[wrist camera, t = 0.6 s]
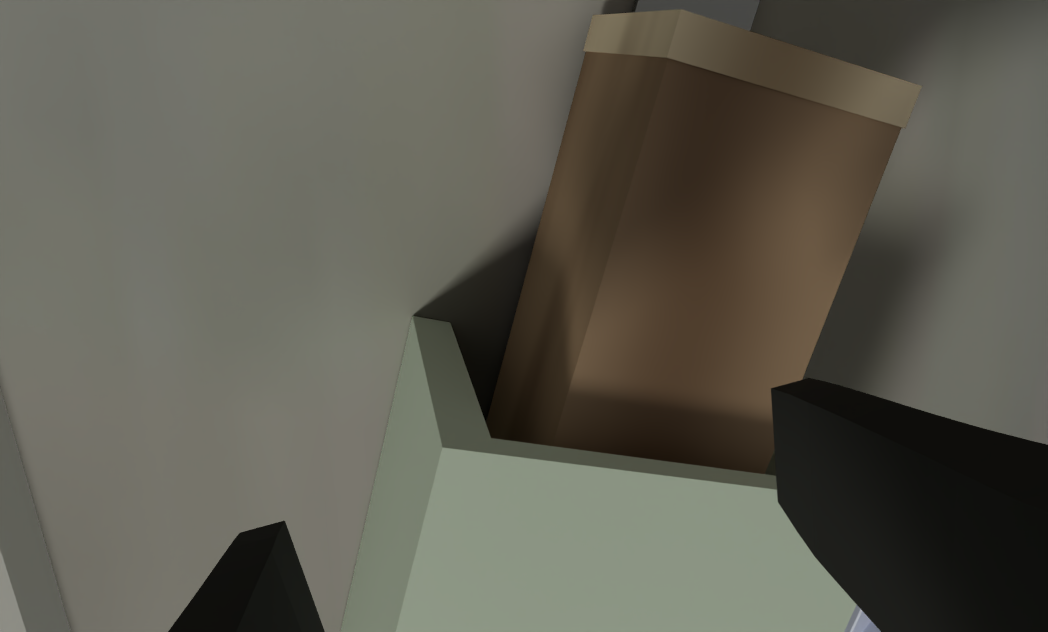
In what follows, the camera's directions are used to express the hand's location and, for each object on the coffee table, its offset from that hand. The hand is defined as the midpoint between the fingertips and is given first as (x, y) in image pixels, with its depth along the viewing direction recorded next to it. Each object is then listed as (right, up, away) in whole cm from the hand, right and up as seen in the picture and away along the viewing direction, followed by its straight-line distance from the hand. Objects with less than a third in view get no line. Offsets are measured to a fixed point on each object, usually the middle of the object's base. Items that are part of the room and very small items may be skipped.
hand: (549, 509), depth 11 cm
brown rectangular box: (+2, +4, +10) cm, 10 cm away
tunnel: (0, -3, +12) cm, 12 cm away
